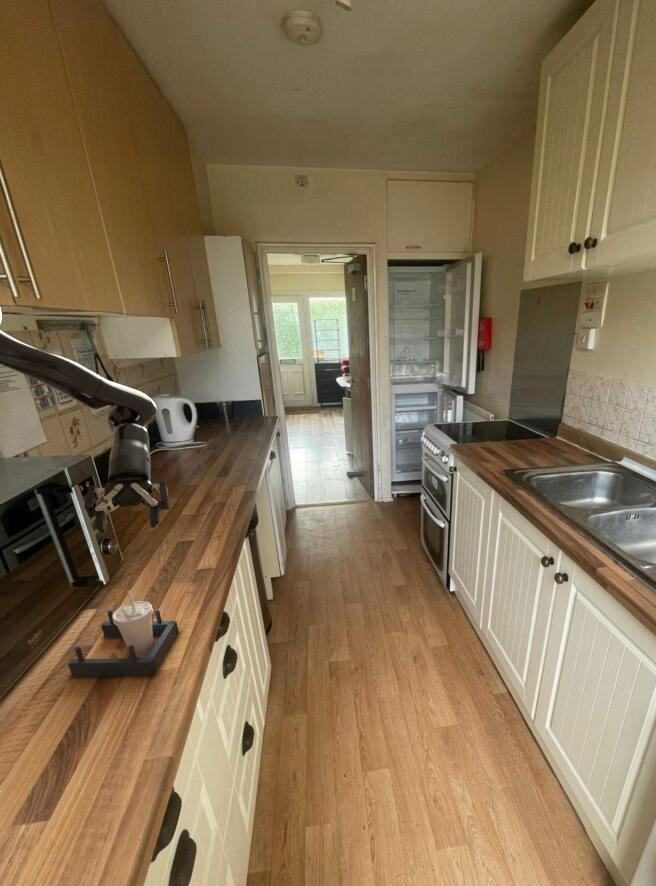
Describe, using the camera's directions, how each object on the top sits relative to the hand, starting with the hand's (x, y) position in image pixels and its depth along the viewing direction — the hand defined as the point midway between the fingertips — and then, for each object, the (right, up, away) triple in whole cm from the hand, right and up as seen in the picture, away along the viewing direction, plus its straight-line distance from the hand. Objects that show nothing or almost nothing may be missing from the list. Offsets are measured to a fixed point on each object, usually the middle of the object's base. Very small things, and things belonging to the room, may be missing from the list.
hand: (127, 528), depth 81 cm
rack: (0, -24, 0) cm, 24 cm away
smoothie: (+3, -24, 0) cm, 24 cm away
